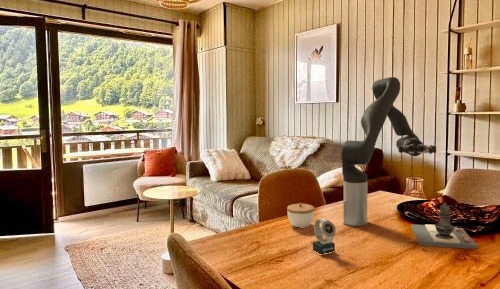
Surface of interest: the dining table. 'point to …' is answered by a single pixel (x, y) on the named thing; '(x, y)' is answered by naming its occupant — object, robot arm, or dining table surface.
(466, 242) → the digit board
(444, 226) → the salt shaker
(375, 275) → the dining table surface
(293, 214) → the lidded jar
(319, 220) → the watch
